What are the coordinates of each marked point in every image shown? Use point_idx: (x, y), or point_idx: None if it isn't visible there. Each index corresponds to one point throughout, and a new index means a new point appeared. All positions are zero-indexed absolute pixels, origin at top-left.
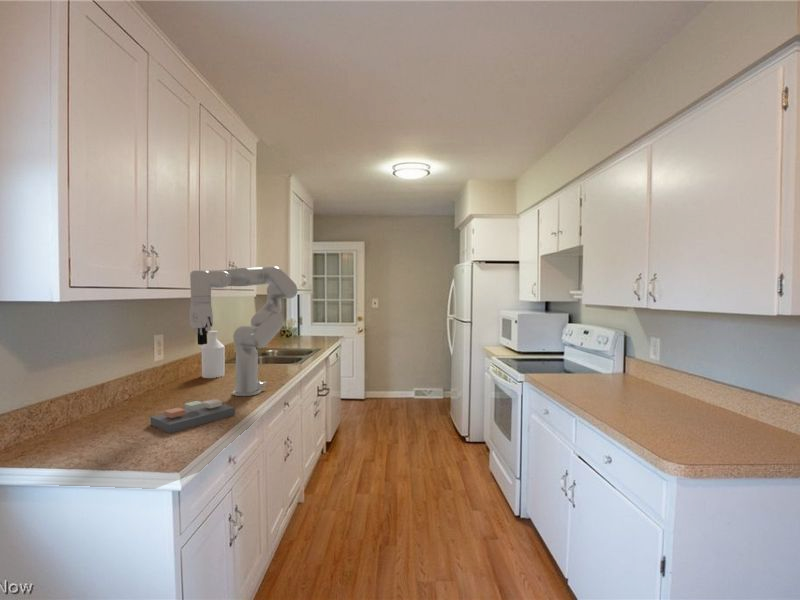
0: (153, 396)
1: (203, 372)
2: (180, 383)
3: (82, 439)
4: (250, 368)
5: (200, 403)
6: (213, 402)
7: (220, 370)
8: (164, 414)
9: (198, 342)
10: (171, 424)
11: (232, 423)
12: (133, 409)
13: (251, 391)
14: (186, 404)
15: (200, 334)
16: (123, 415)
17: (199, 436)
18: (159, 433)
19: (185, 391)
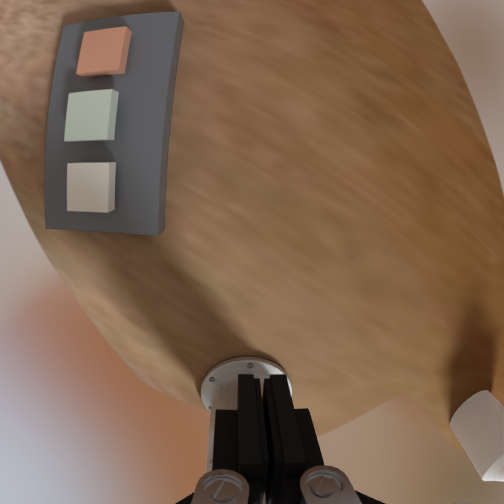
0: (474, 212)
1: (489, 398)
2: (499, 331)
3: None
4: (209, 451)
5: (66, 128)
6: (71, 181)
7: (458, 429)
8: (129, 30)
9: (272, 387)
10: (63, 30)
11: (13, 176)
12: (401, 87)
13: (212, 392)
14: (97, 90)
15: (237, 481)
16: (361, 36)
17: (7, 78)
18: (98, 16)
19: (440, 299)
